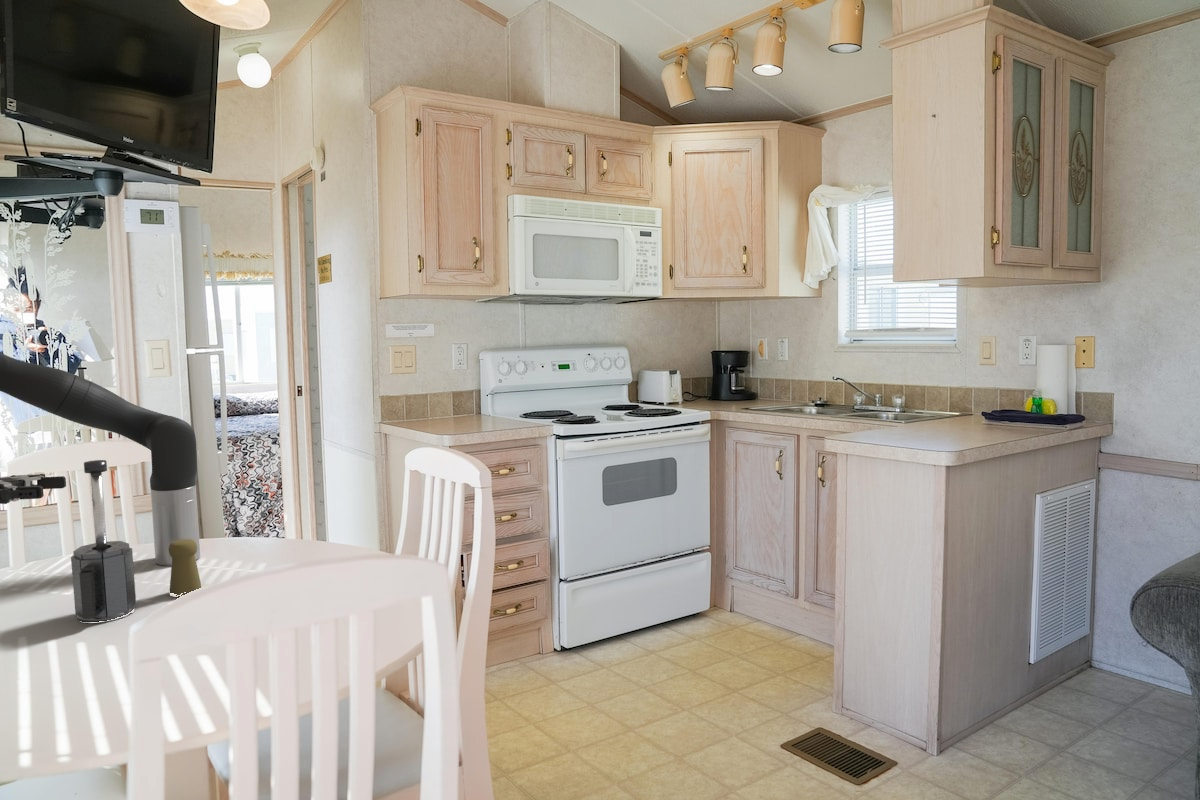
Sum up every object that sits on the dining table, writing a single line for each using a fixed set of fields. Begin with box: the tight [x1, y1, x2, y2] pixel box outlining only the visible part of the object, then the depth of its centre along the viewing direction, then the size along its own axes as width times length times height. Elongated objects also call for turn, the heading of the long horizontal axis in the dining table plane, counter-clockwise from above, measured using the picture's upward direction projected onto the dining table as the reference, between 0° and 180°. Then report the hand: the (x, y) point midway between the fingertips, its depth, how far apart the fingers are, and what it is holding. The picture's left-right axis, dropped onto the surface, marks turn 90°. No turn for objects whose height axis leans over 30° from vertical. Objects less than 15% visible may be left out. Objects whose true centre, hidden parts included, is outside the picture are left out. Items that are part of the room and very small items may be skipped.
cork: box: [169, 539, 202, 599], centre depth 167 cm, size 6×6×11 cm
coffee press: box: [70, 540, 137, 622], centre depth 153 cm, size 12×9×13 cm
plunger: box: [83, 459, 108, 550], centre depth 153 cm, size 6×6×21 cm
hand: (54, 486), depth 152 cm, fingers open, 8 cm apart
